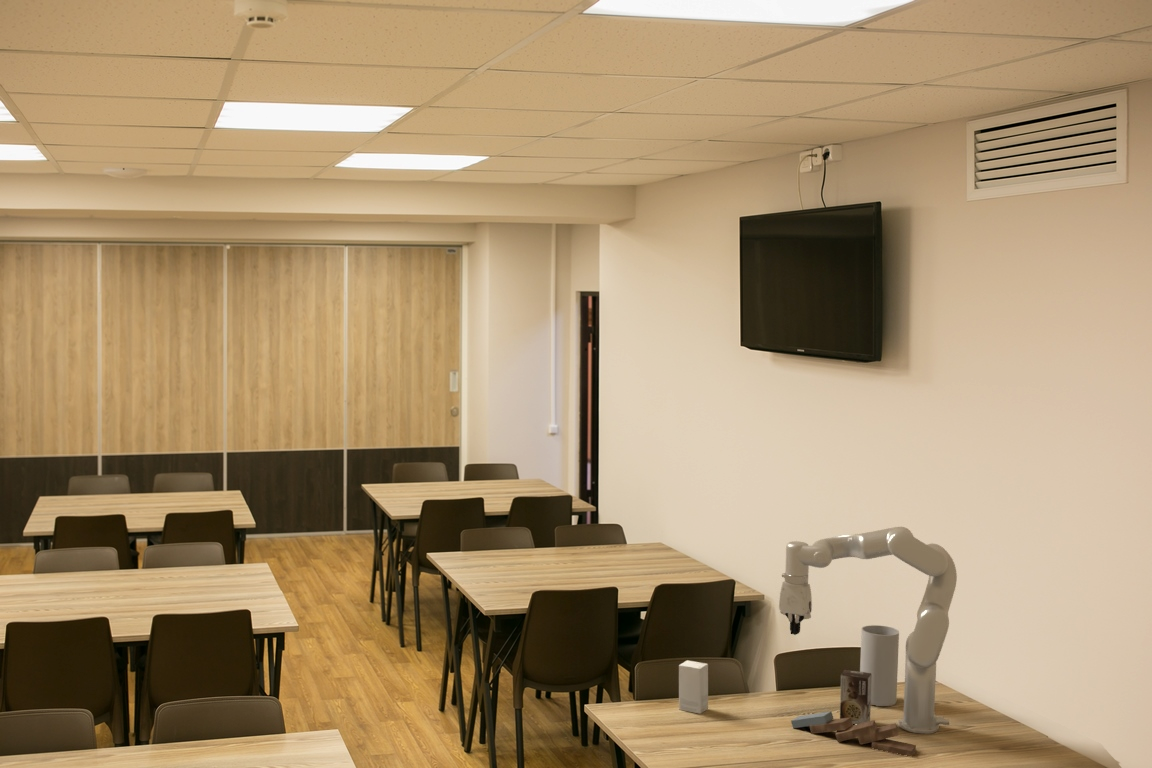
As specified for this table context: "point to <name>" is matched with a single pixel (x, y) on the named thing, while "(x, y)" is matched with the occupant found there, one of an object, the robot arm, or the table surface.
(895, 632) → the cylinder vase
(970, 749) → the table surface
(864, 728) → the domino
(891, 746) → the domino
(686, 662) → the skincare box
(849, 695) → the coffee box
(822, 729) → the domino
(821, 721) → the tile
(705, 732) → the table surface
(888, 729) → the domino
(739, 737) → the table surface
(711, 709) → the table surface
